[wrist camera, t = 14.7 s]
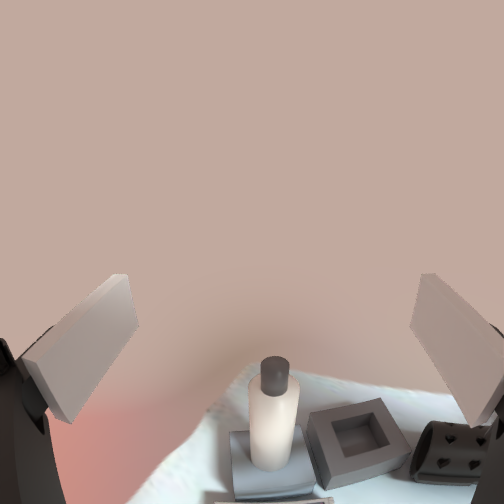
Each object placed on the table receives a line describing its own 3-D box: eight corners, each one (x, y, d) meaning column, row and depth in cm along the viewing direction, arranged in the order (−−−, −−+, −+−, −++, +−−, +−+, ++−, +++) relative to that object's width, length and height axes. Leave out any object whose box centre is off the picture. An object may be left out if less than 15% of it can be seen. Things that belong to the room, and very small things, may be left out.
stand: (310, 493, 27) (316, 480, 26) (236, 503, 27) (233, 490, 25) (296, 442, 37) (299, 424, 35) (231, 449, 36) (229, 431, 34)
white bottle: (292, 468, 28) (308, 379, 23) (252, 473, 28) (250, 386, 22) (285, 440, 33) (295, 346, 27) (249, 444, 32) (245, 350, 27)
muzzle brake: (401, 490, 25) (417, 436, 33) (536, 489, 12) (539, 441, 19) (425, 471, 21) (438, 406, 29) (570, 464, 7) (568, 411, 15)
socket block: (400, 467, 29) (412, 451, 27) (324, 490, 28) (331, 476, 26) (372, 416, 40) (380, 397, 38) (306, 431, 39) (310, 412, 37)
